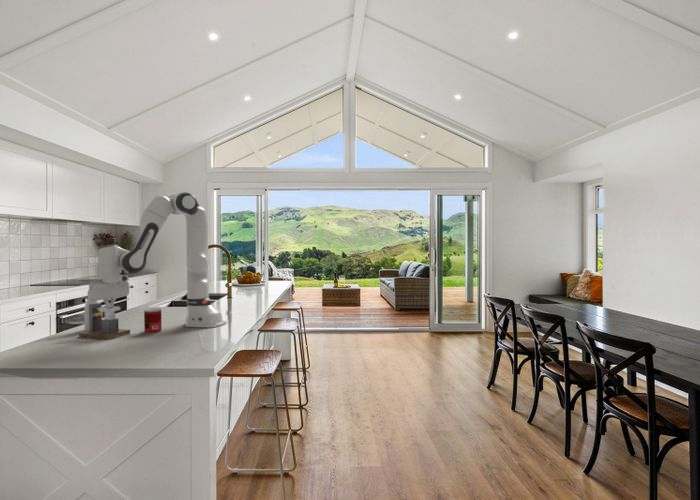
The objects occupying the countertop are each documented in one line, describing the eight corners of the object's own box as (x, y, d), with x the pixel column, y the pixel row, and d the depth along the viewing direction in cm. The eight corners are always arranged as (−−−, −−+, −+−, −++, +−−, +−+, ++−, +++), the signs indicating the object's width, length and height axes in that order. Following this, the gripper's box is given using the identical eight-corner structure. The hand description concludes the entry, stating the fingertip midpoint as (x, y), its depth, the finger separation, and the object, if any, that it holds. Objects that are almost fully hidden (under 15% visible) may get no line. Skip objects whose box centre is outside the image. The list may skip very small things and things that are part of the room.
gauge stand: (130, 333, 209) (129, 303, 209) (106, 340, 197) (106, 307, 197) (102, 331, 216) (102, 301, 215) (78, 336, 203) (78, 305, 203)
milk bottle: (96, 331, 215) (95, 292, 214) (81, 331, 215) (80, 292, 214) (105, 328, 222) (104, 290, 222) (90, 328, 222) (90, 290, 222)
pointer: (103, 314, 209) (103, 313, 209) (97, 315, 206) (97, 314, 206) (100, 314, 209) (100, 312, 209) (94, 315, 206) (94, 314, 206)
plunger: (120, 323, 207) (120, 306, 207) (109, 325, 201) (108, 309, 201) (103, 321, 211) (103, 305, 211) (91, 324, 205) (91, 307, 204)
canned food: (164, 329, 219) (164, 308, 219) (155, 333, 211) (155, 311, 211) (150, 329, 220) (150, 308, 219) (141, 332, 212) (140, 310, 211)
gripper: (94, 281, 193) (95, 311, 194) (131, 276, 213) (132, 304, 213) (84, 280, 196) (84, 310, 196) (121, 276, 215) (122, 303, 215)
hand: (109, 307), depth 205 cm, fingers closed
